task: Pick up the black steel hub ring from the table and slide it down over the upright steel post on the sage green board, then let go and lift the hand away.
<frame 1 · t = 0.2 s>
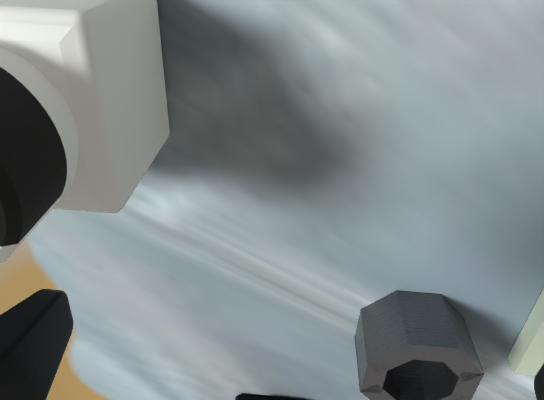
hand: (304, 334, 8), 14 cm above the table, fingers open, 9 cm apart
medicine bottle: (92, 60, 21), on the table
hub ring: (407, 328, 29), on the table
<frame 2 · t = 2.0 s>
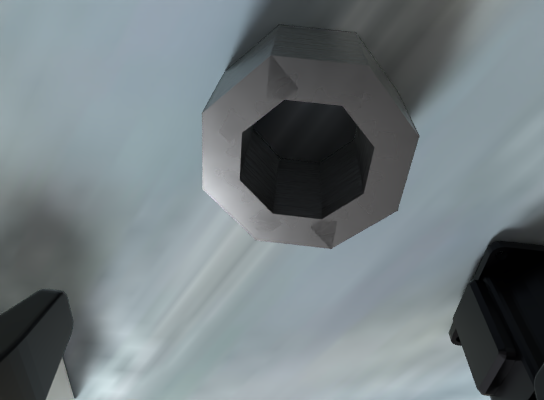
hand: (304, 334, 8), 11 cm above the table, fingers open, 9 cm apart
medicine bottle: (13, 358, 27), on the table
hub ring: (305, 115, 17), on the table
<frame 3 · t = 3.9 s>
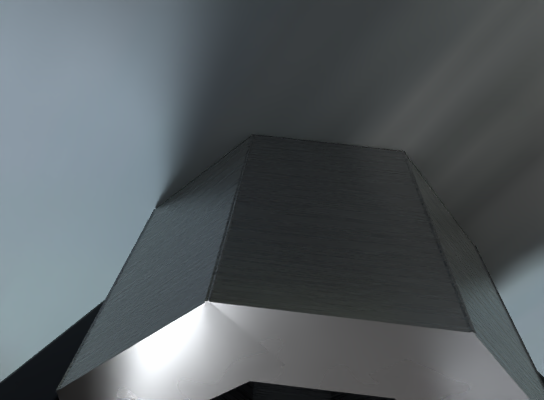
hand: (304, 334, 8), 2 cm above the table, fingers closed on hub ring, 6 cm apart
hub ring: (305, 277, 9), on the table, touching gripper
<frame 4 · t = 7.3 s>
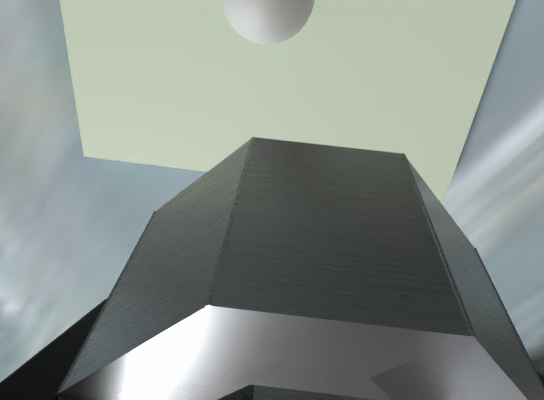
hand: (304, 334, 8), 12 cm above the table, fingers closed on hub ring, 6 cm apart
hub ring: (305, 279, 9), point 11 cm above the table, touching gripper
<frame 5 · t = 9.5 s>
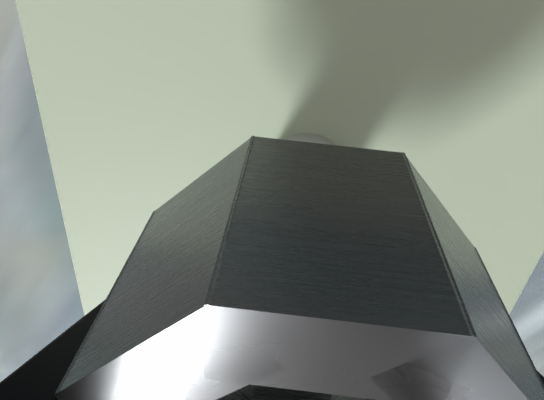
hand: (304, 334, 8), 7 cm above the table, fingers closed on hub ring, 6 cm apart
post board: (306, 152, 14), on the table
hub ring: (305, 279, 9), point 6 cm above the table, touching gripper
when the fingers open (4 cm above the table, at t = 11.2 s): hub ring drops 1 cm, resting on post board.
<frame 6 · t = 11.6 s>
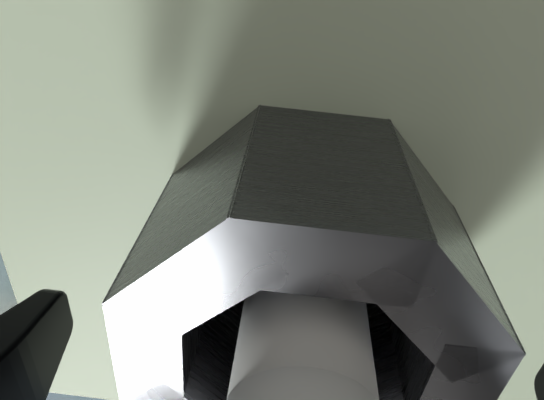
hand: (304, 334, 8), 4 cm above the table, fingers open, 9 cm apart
post board: (306, 207, 12), on the table
hub ring: (304, 236, 11), point 1 cm above the table, touching post board
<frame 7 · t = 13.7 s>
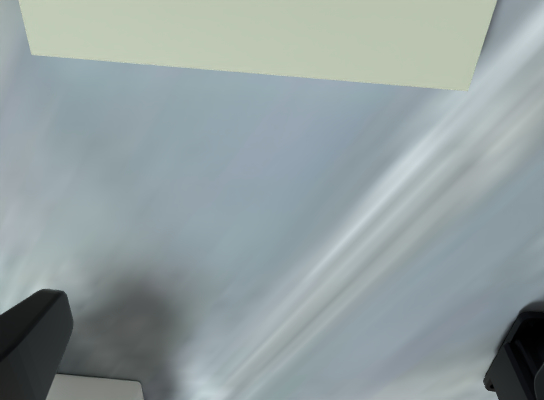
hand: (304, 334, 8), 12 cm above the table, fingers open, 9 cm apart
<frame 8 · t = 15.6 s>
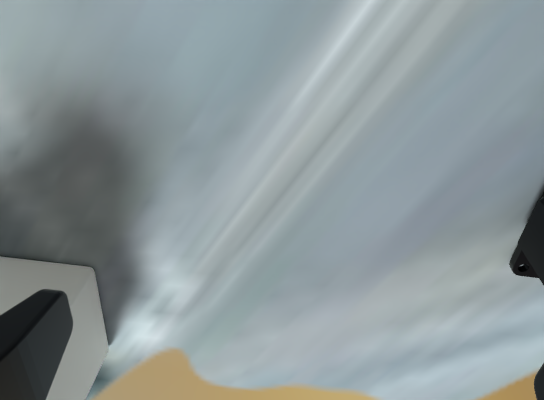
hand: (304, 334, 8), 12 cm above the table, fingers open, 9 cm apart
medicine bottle: (46, 300, 26), on the table
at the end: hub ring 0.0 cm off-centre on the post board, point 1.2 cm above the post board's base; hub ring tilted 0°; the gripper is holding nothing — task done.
